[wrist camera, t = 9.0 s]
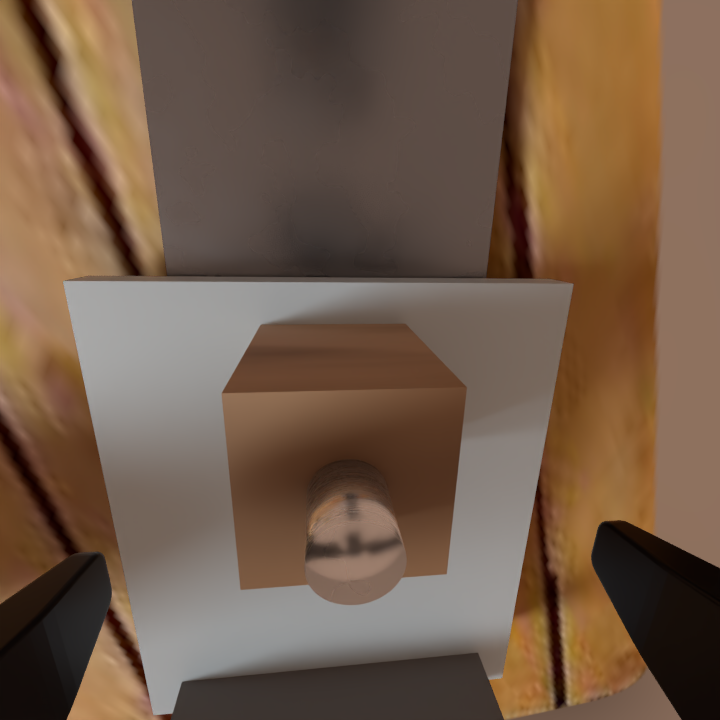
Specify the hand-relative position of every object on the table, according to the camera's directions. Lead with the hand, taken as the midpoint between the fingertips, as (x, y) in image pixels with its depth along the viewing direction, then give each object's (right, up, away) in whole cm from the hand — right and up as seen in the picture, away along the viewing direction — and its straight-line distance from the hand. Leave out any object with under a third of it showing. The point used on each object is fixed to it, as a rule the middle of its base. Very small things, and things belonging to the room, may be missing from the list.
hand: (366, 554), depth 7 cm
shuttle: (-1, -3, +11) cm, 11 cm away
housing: (-1, +2, +7) cm, 8 cm away
